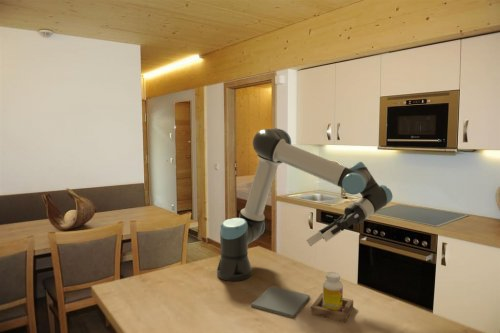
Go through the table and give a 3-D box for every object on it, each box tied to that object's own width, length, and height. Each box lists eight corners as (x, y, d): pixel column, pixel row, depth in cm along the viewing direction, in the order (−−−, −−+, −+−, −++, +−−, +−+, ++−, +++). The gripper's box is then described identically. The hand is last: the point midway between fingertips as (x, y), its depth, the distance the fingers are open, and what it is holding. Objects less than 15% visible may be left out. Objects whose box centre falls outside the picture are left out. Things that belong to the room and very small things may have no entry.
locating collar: (310, 313, 119) (311, 306, 119) (321, 299, 129) (321, 292, 129) (344, 322, 114) (345, 315, 114) (353, 306, 124) (353, 300, 124)
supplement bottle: (342, 316, 118) (343, 279, 116) (322, 314, 119) (323, 278, 118) (341, 306, 124) (342, 271, 123) (322, 304, 126) (323, 270, 124)
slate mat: (251, 306, 125) (251, 303, 125) (270, 288, 139) (270, 286, 138) (293, 318, 117) (293, 315, 117) (309, 297, 131) (309, 295, 131)
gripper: (383, 213, 120) (338, 245, 113) (347, 225, 143) (308, 253, 135) (370, 195, 121) (325, 225, 114) (337, 210, 144) (297, 236, 137)
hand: (315, 240), depth 125 cm, fingers open, 13 cm apart
